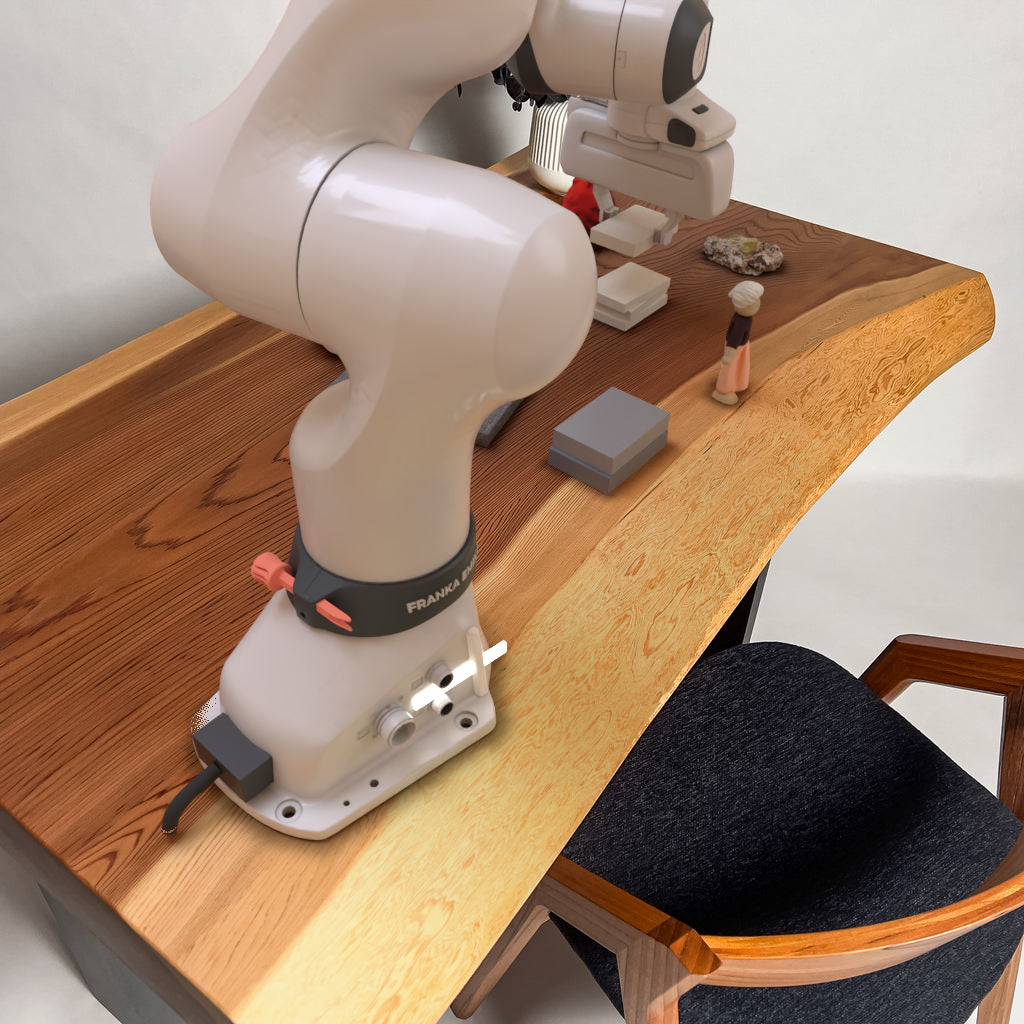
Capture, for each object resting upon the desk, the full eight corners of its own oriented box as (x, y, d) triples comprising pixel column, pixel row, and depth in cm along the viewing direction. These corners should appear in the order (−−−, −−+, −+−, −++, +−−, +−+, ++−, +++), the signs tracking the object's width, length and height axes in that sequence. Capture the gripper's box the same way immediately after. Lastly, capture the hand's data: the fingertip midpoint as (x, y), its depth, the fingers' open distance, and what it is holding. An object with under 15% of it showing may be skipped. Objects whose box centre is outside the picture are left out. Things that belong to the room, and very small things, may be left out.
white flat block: (633, 258, 105) (635, 244, 104) (589, 241, 108) (590, 227, 107) (677, 232, 110) (679, 218, 109) (634, 216, 113) (635, 203, 112)
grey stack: (607, 495, 88) (611, 461, 86) (547, 464, 92) (549, 430, 89) (665, 446, 94) (671, 413, 92) (607, 418, 98) (611, 385, 95)
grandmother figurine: (745, 412, 99) (771, 302, 91) (708, 407, 100) (730, 297, 91) (746, 373, 105) (771, 266, 97) (711, 368, 105) (732, 261, 97)
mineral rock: (793, 239, 126) (782, 246, 119) (785, 272, 127) (774, 281, 121) (713, 224, 129) (698, 230, 122) (707, 256, 131) (691, 264, 124)
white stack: (624, 333, 111) (628, 305, 108) (578, 314, 114) (580, 286, 111) (670, 302, 116) (674, 275, 114) (625, 285, 120) (628, 258, 117)
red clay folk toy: (617, 236, 130) (630, 123, 120) (608, 258, 125) (621, 142, 115) (562, 228, 131) (570, 116, 121) (551, 250, 126) (558, 135, 116)
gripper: (552, 90, 103) (545, 214, 112) (719, 139, 93) (697, 270, 102) (587, 77, 106) (577, 198, 115) (751, 123, 97) (726, 251, 106)
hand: (634, 233), depth 109 cm, fingers closed on white flat block, 6 cm apart
